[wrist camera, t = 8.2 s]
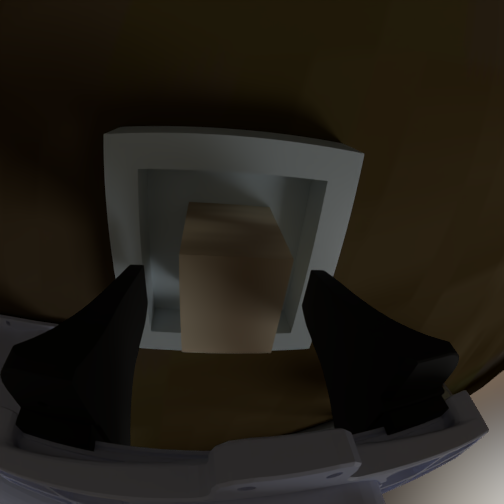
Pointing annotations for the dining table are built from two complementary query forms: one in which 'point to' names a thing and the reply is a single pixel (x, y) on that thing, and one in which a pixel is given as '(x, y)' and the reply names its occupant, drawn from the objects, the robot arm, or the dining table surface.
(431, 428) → the robot arm
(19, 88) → the dining table surface
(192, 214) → the beige cardboard-like cube
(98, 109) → the dining table surface
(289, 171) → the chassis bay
